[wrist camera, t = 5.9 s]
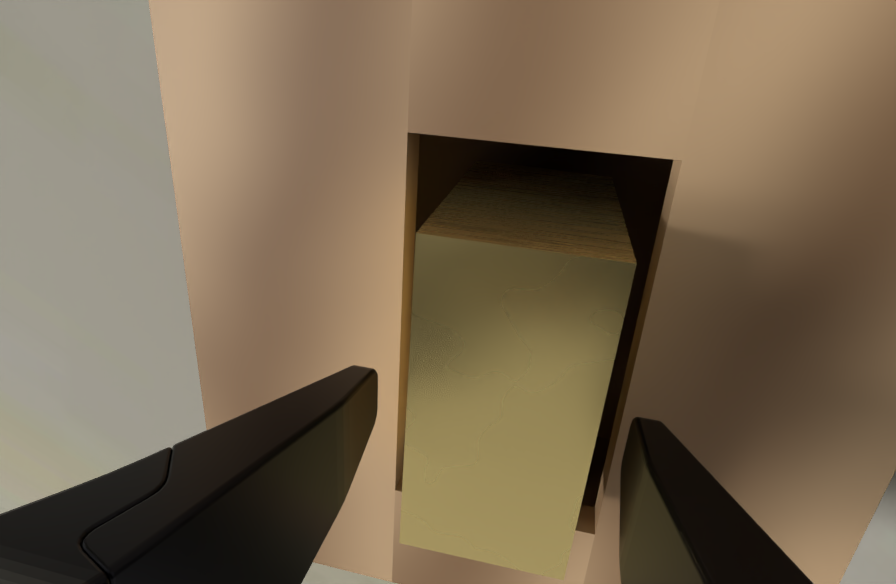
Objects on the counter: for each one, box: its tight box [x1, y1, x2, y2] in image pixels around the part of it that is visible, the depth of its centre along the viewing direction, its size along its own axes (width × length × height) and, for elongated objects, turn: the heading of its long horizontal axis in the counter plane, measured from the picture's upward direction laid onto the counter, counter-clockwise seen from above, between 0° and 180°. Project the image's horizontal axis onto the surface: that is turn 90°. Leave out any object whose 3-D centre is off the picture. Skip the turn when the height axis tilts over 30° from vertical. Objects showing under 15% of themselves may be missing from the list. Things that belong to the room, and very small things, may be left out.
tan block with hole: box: [149, 0, 896, 584], centre depth 14 cm, size 14×14×7 cm
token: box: [399, 161, 637, 580], centre depth 11 cm, size 3×6×6 cm, turn 176°
